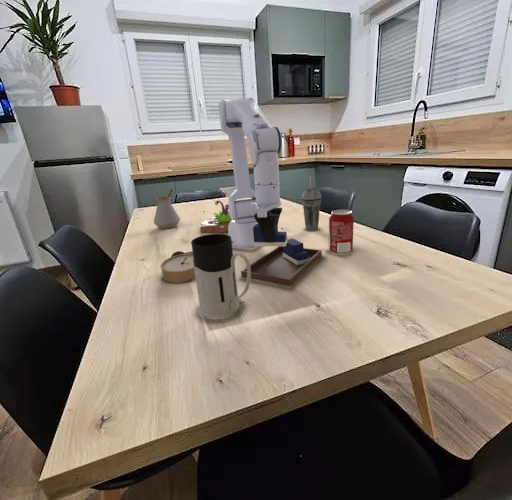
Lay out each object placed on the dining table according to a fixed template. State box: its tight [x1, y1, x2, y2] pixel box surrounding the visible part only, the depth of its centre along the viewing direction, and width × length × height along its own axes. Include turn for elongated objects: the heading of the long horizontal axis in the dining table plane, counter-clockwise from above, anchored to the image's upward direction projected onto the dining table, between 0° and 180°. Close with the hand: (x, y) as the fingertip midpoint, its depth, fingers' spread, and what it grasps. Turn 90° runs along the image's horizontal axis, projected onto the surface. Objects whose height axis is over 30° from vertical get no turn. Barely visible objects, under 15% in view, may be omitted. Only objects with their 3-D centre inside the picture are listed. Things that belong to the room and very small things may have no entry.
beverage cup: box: [301, 175, 322, 232], centre depth 109 cm, size 7×7×20 cm
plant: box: [200, 200, 232, 234], centre depth 123 cm, size 20×20×11 cm
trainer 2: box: [283, 238, 309, 265], centre depth 81 cm, size 8×4×5 cm, turn 24°
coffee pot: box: [153, 188, 181, 230], centre depth 135 cm, size 21×12×15 cm, turn 179°
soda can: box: [328, 209, 355, 254], centre depth 85 cm, size 7×7×12 cm
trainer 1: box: [253, 223, 288, 247], centre depth 73 cm, size 8×4×5 cm, turn 76°
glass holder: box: [190, 233, 252, 320], centre depth 56 cm, size 9×14×15 cm, turn 46°
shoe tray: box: [240, 246, 323, 287], centre depth 78 cm, size 13×21×2 cm, turn 149°
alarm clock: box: [160, 250, 196, 284], centre depth 81 cm, size 11×5×15 cm
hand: (270, 239), depth 73 cm, fingers closed on trainer 1, 3 cm apart
